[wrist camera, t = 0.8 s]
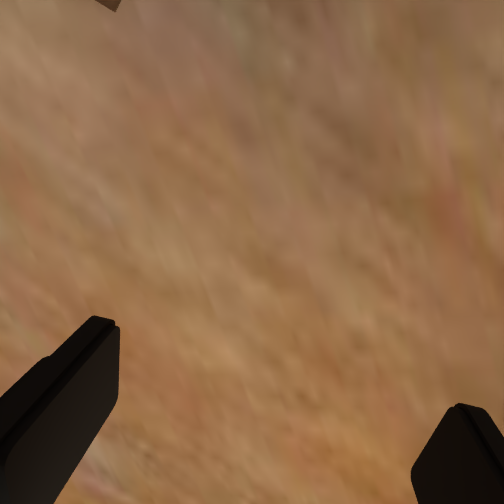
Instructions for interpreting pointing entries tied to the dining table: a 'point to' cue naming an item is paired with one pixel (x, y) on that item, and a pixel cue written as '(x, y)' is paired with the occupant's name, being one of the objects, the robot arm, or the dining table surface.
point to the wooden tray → (110, 4)
